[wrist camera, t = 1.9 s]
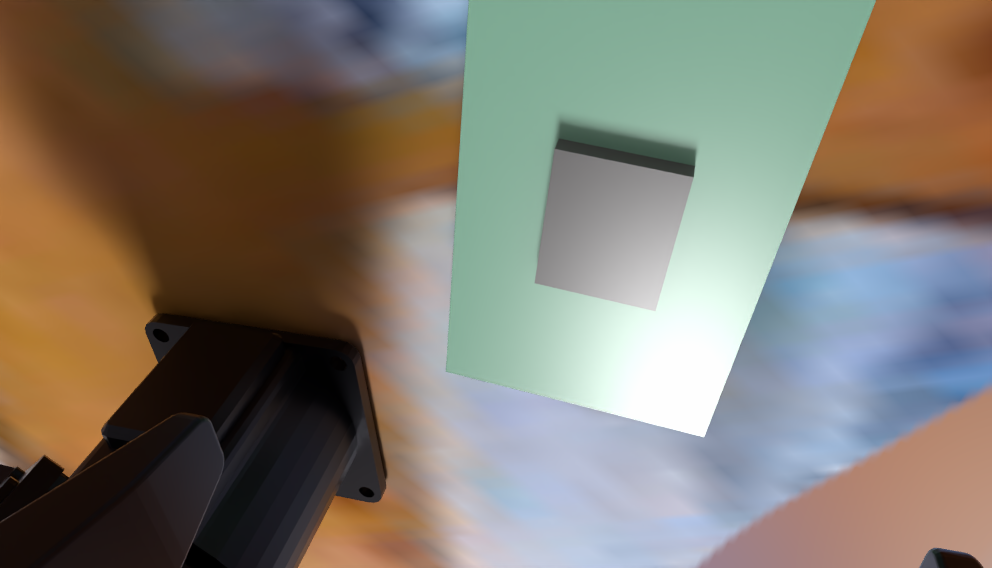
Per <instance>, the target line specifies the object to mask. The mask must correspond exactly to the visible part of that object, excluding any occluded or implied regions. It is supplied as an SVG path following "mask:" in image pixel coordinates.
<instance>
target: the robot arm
mask: <svg viewBox="0 0 992 568" xmlns="http://www.w3.org/2000/svg"><path fill="white" fill-rule="evenodd" d="M145 331H146V335H147V337H148V339H149V342H150V344H151V347H152V349H153V351H154V354H155V356H156V359H157V361H158V364H157V365H156V366H155V367H154V368H153V370H152V371H151V372H150V373H149V374H148V375H147V376H146V378H145V379H144V380H143V381H142V382H141V383H140V384H139V386H138V387H137V388H136V389H135V390H134V391H133V392H132V394H131V395H130V396H129V397H128V398H127V399H126V400H125V402H124V403H123V404H122V405H121V406H120V407H119V408H118V410H117V411H116V412H115V413H114V414H113V415H112V416H111V418H110V419H109V420H108V421H107V422H106V423H105V424H104V426H103V428H102V429H101V432H102V435H103V437H104V438H103V439H102V440H101V441H100V442H99V444H98V445H97V446H96V447H95V448H94V449H93V451H92V452H91V453H90V454H89V455H88V456H87V458H86V459H85V460H84V461H83V462H82V463H81V465H80V466H79V467H78V468H77V469H76V470H75V471H74V473H73V474H72V475H71V476H70V477H67V476H66V475H65V474H63V473H62V472H63V471H64V468H62V467H61V466H60V465H58V464H57V463H55V462H54V461H53V460H51V459H50V458H48V457H47V456H46V455H44V456H42V457H41V458H40V459H39V460H38V461H37V462H36V463H35V464H33V465H32V466H31V467H30V468H29V469H28V470H27V471H25V472H24V471H23V470H21V469H20V468H19V467H16V468H13V467H9V466H5V465H1V464H0V568H298V566H299V564H300V563H301V561H302V559H303V557H304V555H305V553H306V551H307V549H308V547H309V545H310V543H311V541H312V539H313V537H314V535H315V533H316V531H317V530H318V528H319V526H320V524H321V522H322V520H323V518H324V516H325V514H326V512H327V510H328V508H329V506H330V504H331V502H332V500H333V498H334V496H335V495H336V496H341V497H346V498H351V499H356V500H360V501H365V502H373V503H375V502H378V501H379V500H380V499H381V498H382V496H383V494H384V491H385V489H386V482H385V477H384V472H383V467H382V462H381V457H380V452H379V447H378V442H377V437H376V432H375V426H374V421H373V416H372V411H371V406H370V401H369V396H368V391H367V386H366V381H365V376H364V371H363V366H362V361H361V356H360V354H359V352H358V350H357V349H356V348H355V347H354V346H353V345H351V344H350V343H348V342H345V341H342V340H336V339H330V338H323V337H316V336H310V335H303V334H297V333H290V332H283V331H277V330H270V329H263V328H257V327H250V326H244V325H237V324H230V323H224V322H217V321H211V320H204V319H197V318H191V317H184V316H177V315H171V314H164V313H162V314H157V315H155V316H154V317H153V318H152V319H151V320H150V321H149V322H148V323H147V324H146V327H145ZM340 358H341V359H342V360H341V359H340ZM920 568H983V566H982V565H981V564H980V562H979V561H978V560H976V558H974V557H973V556H971V555H970V554H967V553H963V552H958V551H952V550H947V549H941V548H933V549H931V550H929V551H928V553H927V554H926V556H925V558H924V560H923V562H922V563H921V566H920Z"/></svg>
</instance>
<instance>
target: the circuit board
mask: <svg viewBox="0 0 992 568" xmlns="http://www.w3.org/2000/svg"><path fill="white" fill-rule="evenodd" d="M875 2H876V0H469V6H468V22H467V38H466V55H465V71H464V87H463V103H462V120H461V136H460V152H459V168H458V185H457V201H456V217H455V233H454V249H453V266H452V282H451V298H450V314H449V331H448V347H447V363H446V372H450V373H453V374H457V375H461V376H465V377H469V378H473V379H477V380H481V381H485V382H489V383H493V384H497V385H501V386H505V387H509V388H512V389H516V390H520V391H524V392H528V393H532V394H536V395H540V396H544V397H548V398H552V399H556V400H560V401H564V402H568V403H572V404H575V405H579V406H583V407H587V408H591V409H595V410H599V411H603V412H607V413H611V414H615V415H619V416H623V417H627V418H631V419H635V420H638V421H642V422H646V423H650V424H654V425H658V426H662V427H666V428H670V429H674V430H678V431H682V432H686V433H690V434H694V435H697V436H701V437H704V436H705V433H706V431H707V428H708V426H709V423H710V420H711V418H712V415H713V413H714V410H715V408H716V405H717V403H718V400H719V398H720V395H721V393H722V390H723V387H724V385H725V382H726V380H727V377H728V375H729V372H730V370H731V367H732V365H733V362H734V360H735V357H736V354H737V352H738V349H739V347H740V344H741V342H742V339H743V337H744V334H745V332H746V329H747V327H748V324H749V321H750V319H751V316H752V314H753V311H754V309H755V306H756V304H757V301H758V299H759V296H760V294H761V291H762V288H763V286H764V283H765V281H766V278H767V276H768V273H769V271H770V268H771V266H772V263H773V261H774V258H775V255H776V253H777V250H778V248H779V245H780V243H781V240H782V238H783V235H784V233H785V230H786V227H787V225H788V222H789V220H790V217H791V215H792V212H793V210H794V207H795V205H796V202H797V200H798V197H799V194H800V192H801V189H802V187H803V184H804V182H805V179H806V177H807V174H808V172H809V169H810V167H811V164H812V161H813V159H814V156H815V154H816V151H817V149H818V146H819V144H820V141H821V139H822V136H823V134H824V131H825V128H826V126H827V123H828V121H829V118H830V116H831V113H832V111H833V108H834V106H835V103H836V101H837V98H838V95H839V93H840V90H841V88H842V85H843V83H844V80H845V78H846V75H847V73H848V70H849V68H850V65H851V62H852V60H853V57H854V55H855V52H856V50H857V47H858V45H859V42H860V40H861V37H862V35H863V32H864V29H865V27H866V24H867V22H868V19H869V17H870V14H871V12H872V9H873V7H874V4H875Z"/></svg>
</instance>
